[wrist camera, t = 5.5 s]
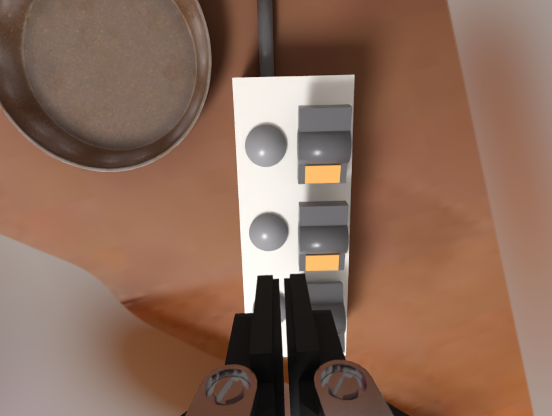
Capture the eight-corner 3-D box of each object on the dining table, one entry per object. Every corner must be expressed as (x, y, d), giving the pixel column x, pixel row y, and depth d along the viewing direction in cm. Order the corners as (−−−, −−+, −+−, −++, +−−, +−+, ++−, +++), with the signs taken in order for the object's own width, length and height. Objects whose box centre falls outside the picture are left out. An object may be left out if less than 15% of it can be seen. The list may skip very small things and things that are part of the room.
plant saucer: (-26, -38, 26) (-64, -59, 23) (193, -77, 25) (183, -104, 22) (46, 180, 30) (21, 186, 27) (235, 151, 30) (230, 154, 27)
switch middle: (297, 198, 26) (300, 211, 23) (343, 196, 26) (351, 210, 23) (297, 259, 28) (300, 277, 25) (339, 258, 28) (346, 276, 25)
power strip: (233, -17, 26) (225, -43, 22) (345, -20, 26) (359, -47, 22) (250, 331, 34) (247, 359, 30) (337, 328, 34) (346, 356, 30)
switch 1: (297, 103, 24) (300, 111, 21) (347, 101, 24) (355, 109, 21) (296, 174, 26) (298, 188, 24) (341, 173, 26) (347, 187, 24)
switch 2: (297, 280, 28) (299, 286, 26) (338, 279, 28) (345, 285, 26) (299, 344, 28) (301, 357, 26) (340, 343, 28) (347, 356, 26)
